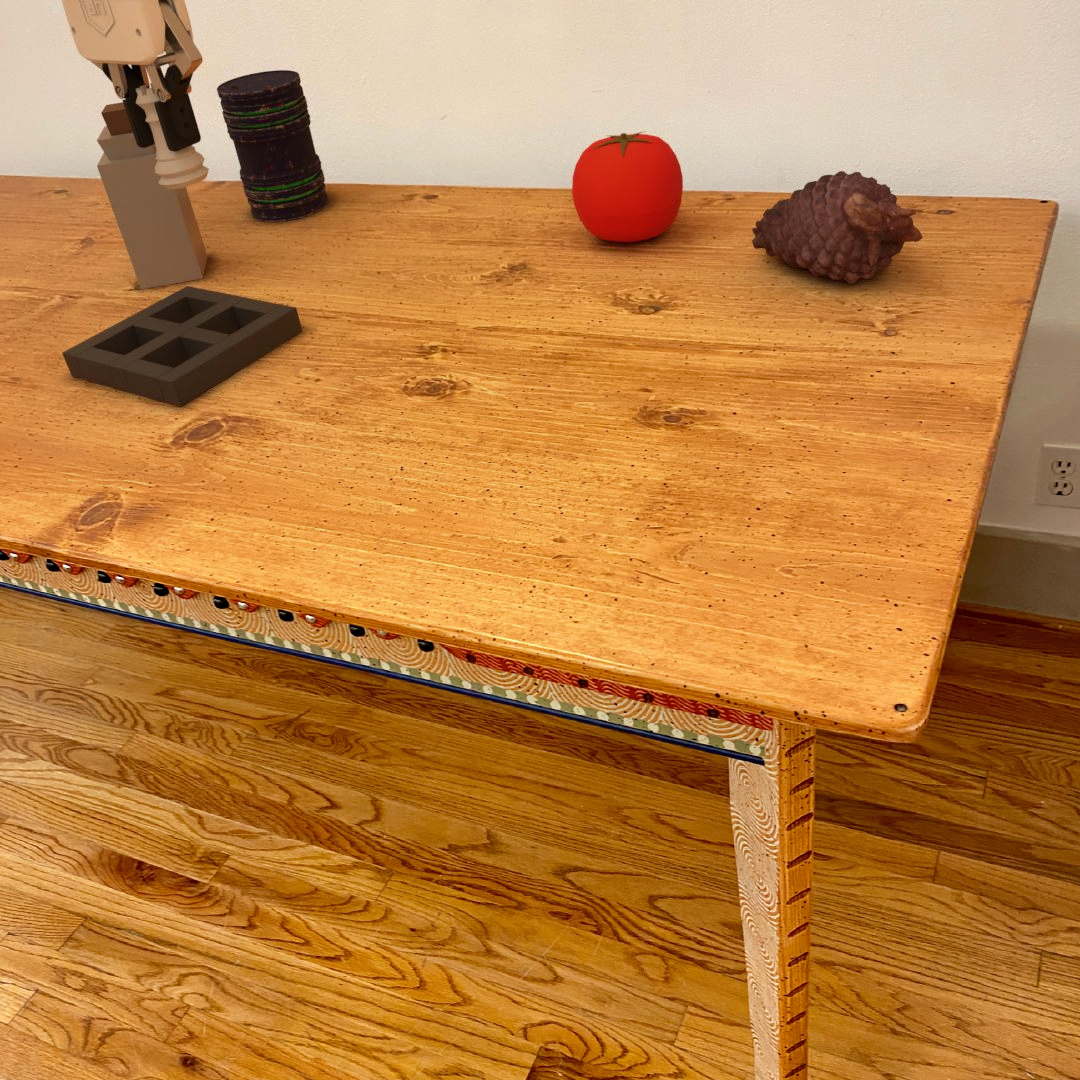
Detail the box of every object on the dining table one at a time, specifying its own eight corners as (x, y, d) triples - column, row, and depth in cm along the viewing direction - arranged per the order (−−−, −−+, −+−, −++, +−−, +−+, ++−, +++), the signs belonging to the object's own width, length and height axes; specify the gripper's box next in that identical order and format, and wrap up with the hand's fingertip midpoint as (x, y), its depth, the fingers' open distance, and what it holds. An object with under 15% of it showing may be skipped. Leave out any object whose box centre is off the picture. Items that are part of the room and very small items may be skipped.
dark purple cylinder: (319, 187, 140) (290, 65, 131) (339, 208, 133) (309, 80, 124) (243, 206, 138) (208, 83, 129) (259, 228, 130) (223, 99, 121)
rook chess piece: (151, 187, 95) (115, 92, 90) (196, 170, 97) (163, 76, 93) (174, 193, 92) (137, 95, 87) (219, 175, 94) (186, 78, 90)
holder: (71, 376, 103) (61, 352, 101) (194, 308, 113) (187, 285, 111) (180, 407, 95) (171, 382, 94) (302, 331, 105) (296, 307, 103)
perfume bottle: (207, 256, 125) (156, 92, 114) (202, 278, 119) (148, 109, 109) (148, 266, 124) (91, 103, 114) (141, 289, 119) (80, 120, 108)
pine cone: (720, 279, 103) (731, 172, 102) (783, 296, 109) (794, 195, 109) (886, 268, 90) (900, 144, 89) (947, 287, 96) (961, 172, 95)
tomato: (684, 211, 118) (680, 111, 112) (685, 255, 109) (680, 148, 102) (581, 219, 120) (571, 121, 114) (573, 263, 110) (562, 159, 104)
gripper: (-12, -89, 84) (75, 151, 95) (121, -98, 75) (200, 167, 86) (68, -106, 89) (143, 125, 99) (203, -116, 80) (268, 137, 91)
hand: (169, 142), depth 93 cm, fingers closed on rook chess piece, 3 cm apart
